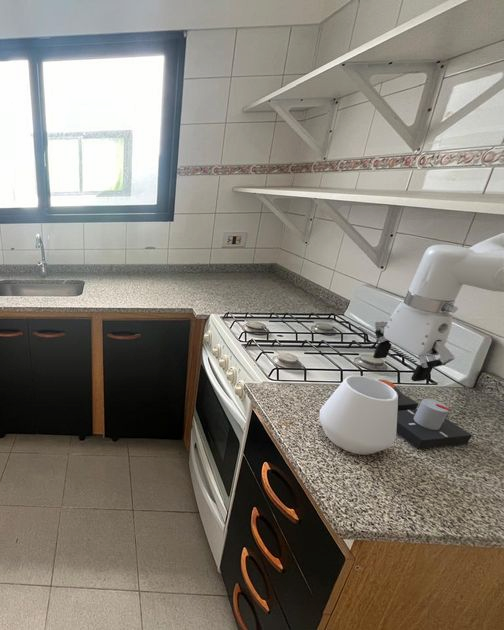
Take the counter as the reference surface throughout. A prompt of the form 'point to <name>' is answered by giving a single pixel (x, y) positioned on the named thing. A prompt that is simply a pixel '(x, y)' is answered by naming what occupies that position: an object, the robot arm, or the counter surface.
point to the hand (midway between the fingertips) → (397, 368)
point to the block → (405, 401)
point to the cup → (361, 415)
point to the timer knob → (431, 414)
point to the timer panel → (429, 432)
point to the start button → (388, 383)
